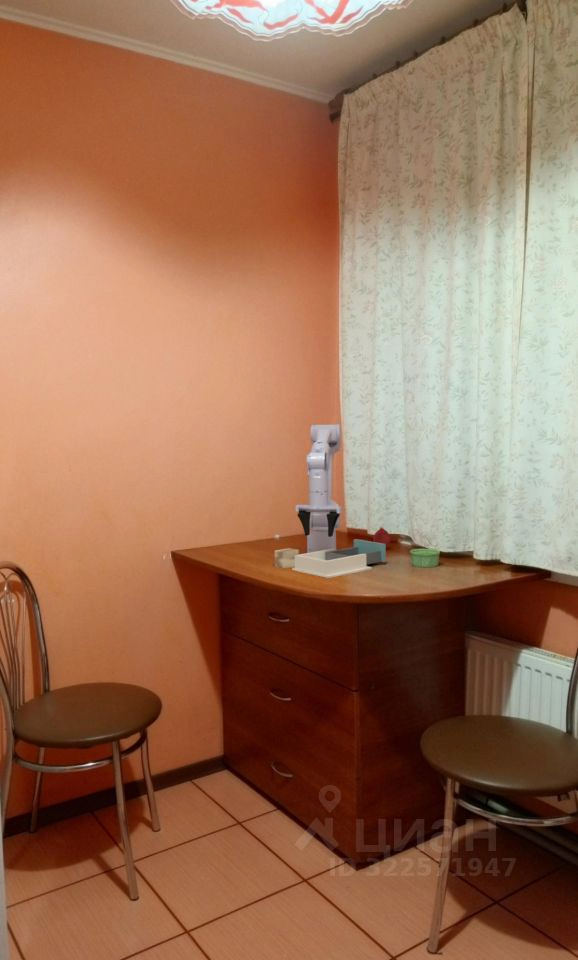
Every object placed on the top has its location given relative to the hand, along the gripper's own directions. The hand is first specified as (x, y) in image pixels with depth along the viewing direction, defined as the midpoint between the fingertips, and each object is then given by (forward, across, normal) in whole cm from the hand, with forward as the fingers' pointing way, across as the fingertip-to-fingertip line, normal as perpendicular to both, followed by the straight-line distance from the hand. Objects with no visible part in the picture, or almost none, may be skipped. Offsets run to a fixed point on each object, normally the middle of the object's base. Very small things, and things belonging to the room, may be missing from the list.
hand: (318, 535), depth 229 cm
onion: (+10, +10, +34) cm, 37 cm away
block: (+10, -10, -2) cm, 14 cm away
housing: (+10, +5, -3) cm, 11 cm away
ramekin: (+10, +30, +13) cm, 34 cm away
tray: (+9, +9, +6) cm, 14 cm away
